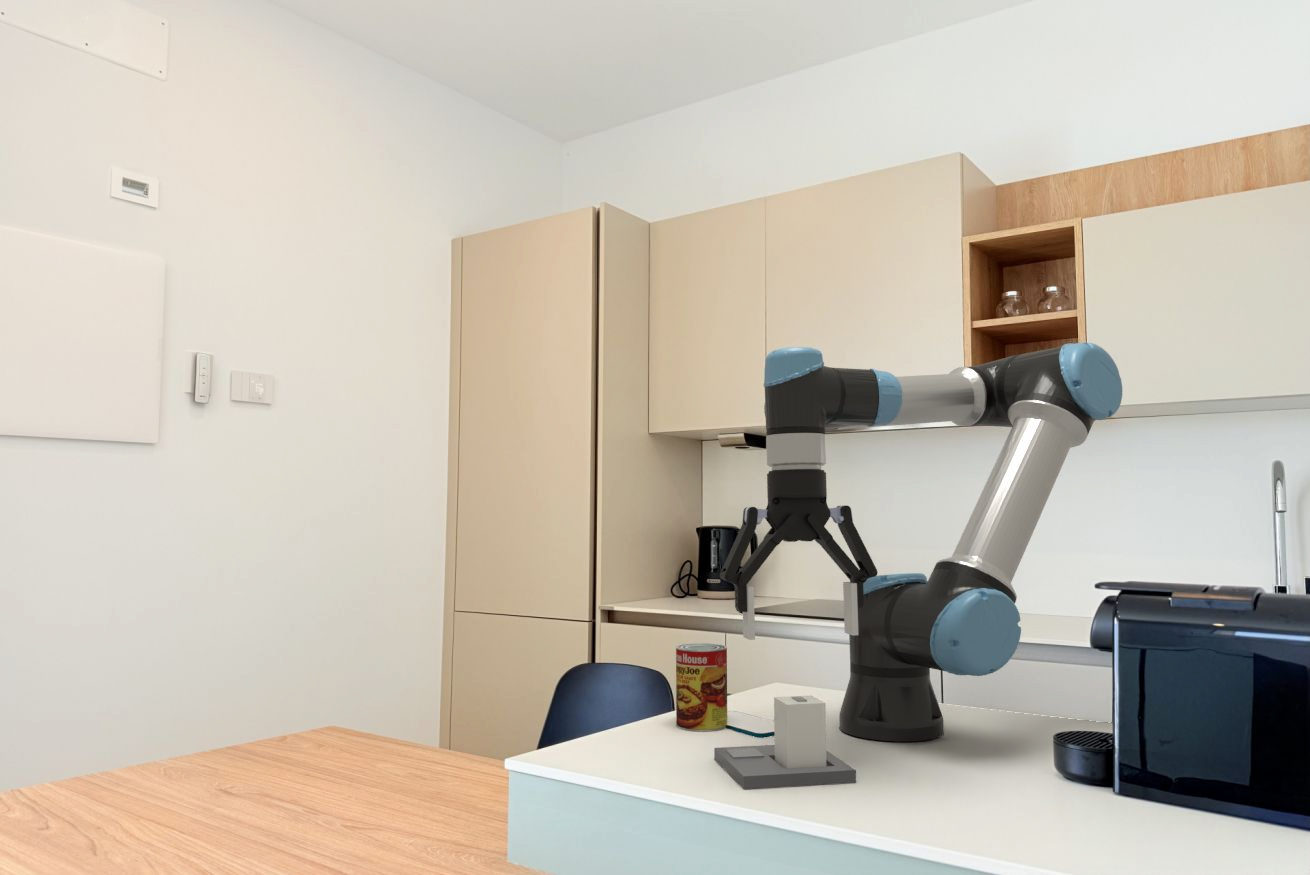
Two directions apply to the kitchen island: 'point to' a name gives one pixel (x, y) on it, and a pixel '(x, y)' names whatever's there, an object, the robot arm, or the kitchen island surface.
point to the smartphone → (750, 724)
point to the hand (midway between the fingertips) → (800, 636)
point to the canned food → (701, 687)
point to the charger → (800, 732)
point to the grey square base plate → (778, 769)
